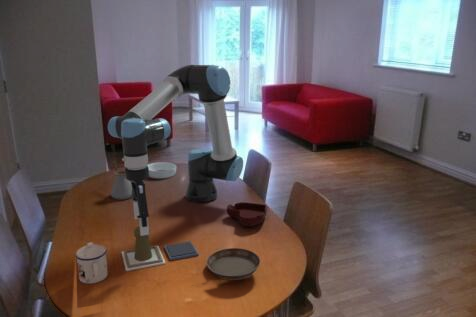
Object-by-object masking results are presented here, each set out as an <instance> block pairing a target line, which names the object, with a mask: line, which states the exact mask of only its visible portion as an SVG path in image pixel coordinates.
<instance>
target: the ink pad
mask: <svg viewBox="0 0 476 317" xmlns="http://www.w3.org/2000/svg"><path fill="white" fill-rule="evenodd" d="M164 249H165V253H166V254H167V256H168V258H169V261H176V260H181V259H186V258H187V259H188V258H192V257H198V256H199V252H198V250H197V248H196V247H195V245H194V243H193V242H192V241H191V240H189V241H184V242H177V243H172V244H166V245H165V244H164Z"/></svg>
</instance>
